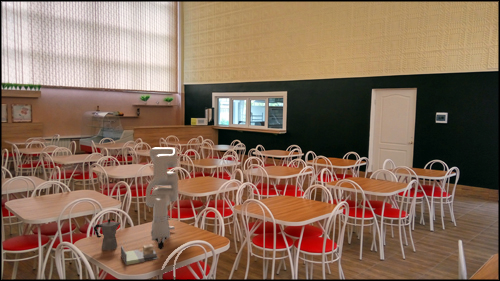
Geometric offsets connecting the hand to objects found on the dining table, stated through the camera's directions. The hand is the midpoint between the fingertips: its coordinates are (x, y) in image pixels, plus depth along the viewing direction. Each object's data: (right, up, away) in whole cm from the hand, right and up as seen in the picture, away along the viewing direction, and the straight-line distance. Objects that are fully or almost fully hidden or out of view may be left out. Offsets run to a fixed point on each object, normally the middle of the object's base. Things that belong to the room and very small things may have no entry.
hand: (160, 248), depth 220 cm
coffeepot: (-34, -2, +7) cm, 35 cm away
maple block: (-7, -1, -3) cm, 7 cm away
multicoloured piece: (-11, -3, -6) cm, 13 cm away
